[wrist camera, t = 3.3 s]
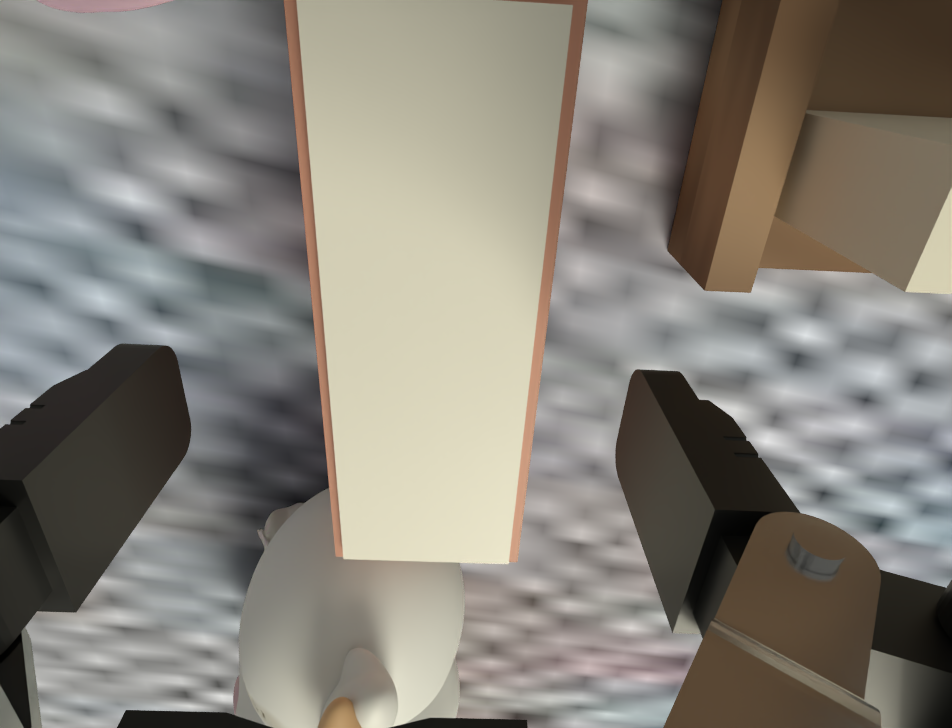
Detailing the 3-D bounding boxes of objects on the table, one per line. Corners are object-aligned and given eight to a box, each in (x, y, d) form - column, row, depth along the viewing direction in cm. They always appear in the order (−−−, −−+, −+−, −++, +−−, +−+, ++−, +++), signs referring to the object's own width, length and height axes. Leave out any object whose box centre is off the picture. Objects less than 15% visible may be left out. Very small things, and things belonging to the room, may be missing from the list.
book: (360, -1, 14) (276, -31, 8) (539, 11, 15) (592, -11, 8) (375, 401, 20) (333, 564, 14) (503, 406, 20) (517, 569, 14)
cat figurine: (278, 669, 12) (279, 1011, 18) (561, 560, 17) (490, 864, 22) (200, 448, 20) (218, 742, 25) (413, 412, 24) (387, 670, 30)
